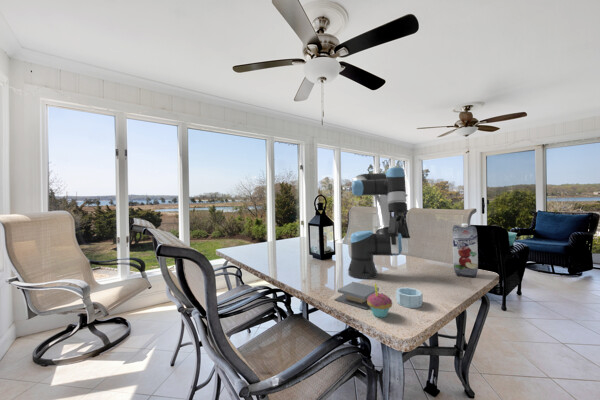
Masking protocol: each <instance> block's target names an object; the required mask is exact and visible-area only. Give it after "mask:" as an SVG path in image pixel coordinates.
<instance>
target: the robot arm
mask: <svg viewBox="0 0 600 400" xmlns="http://www.w3.org/2000/svg"><path fill="white" fill-rule="evenodd" d="M350 186H351V189H352V190H351V191H352V195H353V196H356V197H361V196H373V197H374V203H375V205H374V206H375V212H376V221H377V229H376V230H375V233H374V232H373V230H359V231H355V232H353V233H352V234H351V235H350V263H349V267H348V270H347V275H349V276H350V277H352V278H357V279H373V278H376V277H377V276H378V270H377V267H376V264H375V262H374V256H384V257H385V256H387V257H388V256H389V257H390V256H391V257H393V256H400V255H401V254H410V247H409V239H411V235H410V231H409V227H408V223H407V216H406V215H404V213H406V212H408V204H407V197H408V194H407V191H406V190H407V187H406V175H405V169H404V168H403V167H400V166H399V167H398V166H396V167H390V168H388V169H386V172H381V173H380V172H379V173H361V174H358V175H356V176H354V177H353V178H352V180H351V183H350Z"/></svg>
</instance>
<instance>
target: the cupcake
mask: <svg viewBox="0 0 600 400" xmlns="http://www.w3.org/2000/svg"><path fill="white" fill-rule="evenodd" d="M374 287H375V291H376V293H375V294H372V295H369V297H368V298H367V304H368V305H369V306H370V310H371V312H372V315H373V316H374V317H375V318H376V317H377V318H385V317H387V316H388V313H389V310H390V309H391V308H393V307H392V306H393V302H392V301H393V300H392V299H391V298H390V296H388V295H386V294H384V293H382V292H381V293H380V292H379V291H378V292H377V287H378V285H377V283H376V282H374Z"/></svg>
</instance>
